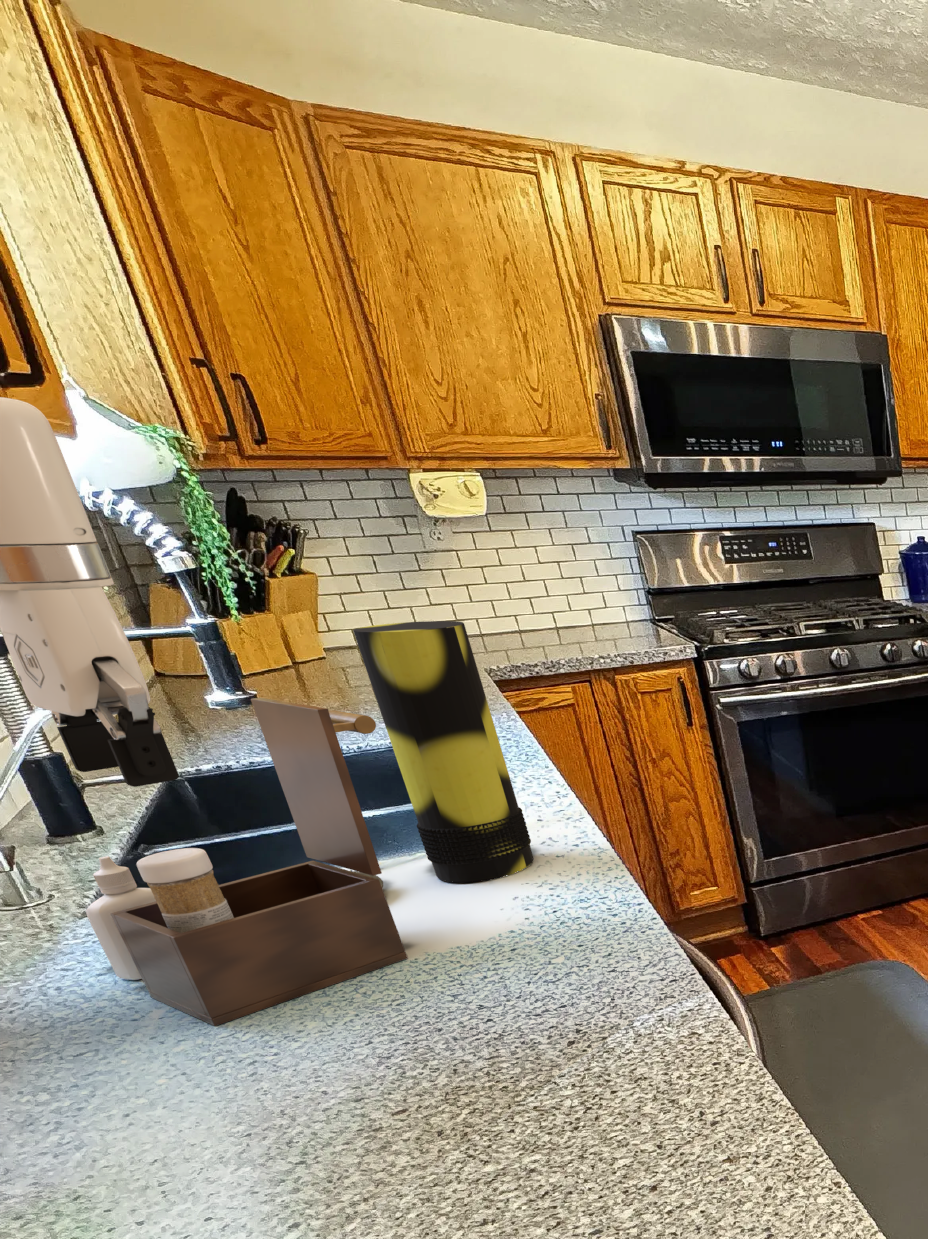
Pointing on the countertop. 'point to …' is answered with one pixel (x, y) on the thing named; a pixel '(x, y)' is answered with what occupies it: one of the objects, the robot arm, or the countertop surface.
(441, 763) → the container
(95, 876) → the eye dropper bottle
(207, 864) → the spice jar
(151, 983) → the walnut box
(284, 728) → the walnut panel
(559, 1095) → the countertop surface
